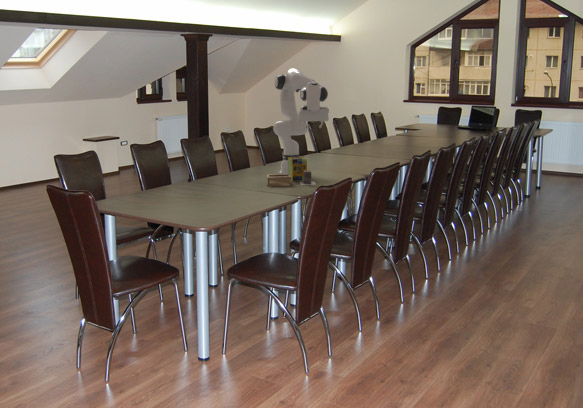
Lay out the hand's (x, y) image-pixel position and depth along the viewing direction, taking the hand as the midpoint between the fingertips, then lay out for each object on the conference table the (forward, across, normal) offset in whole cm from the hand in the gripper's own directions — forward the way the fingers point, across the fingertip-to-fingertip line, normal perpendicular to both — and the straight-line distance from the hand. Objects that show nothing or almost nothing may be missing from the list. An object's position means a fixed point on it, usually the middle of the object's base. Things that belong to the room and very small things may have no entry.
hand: (313, 128), depth 430 cm
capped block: (+36, +5, +8) cm, 37 cm away
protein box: (+37, +10, -11) cm, 40 cm away
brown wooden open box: (+36, +24, +8) cm, 44 cm away
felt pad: (+36, +5, +8) cm, 38 cm away
